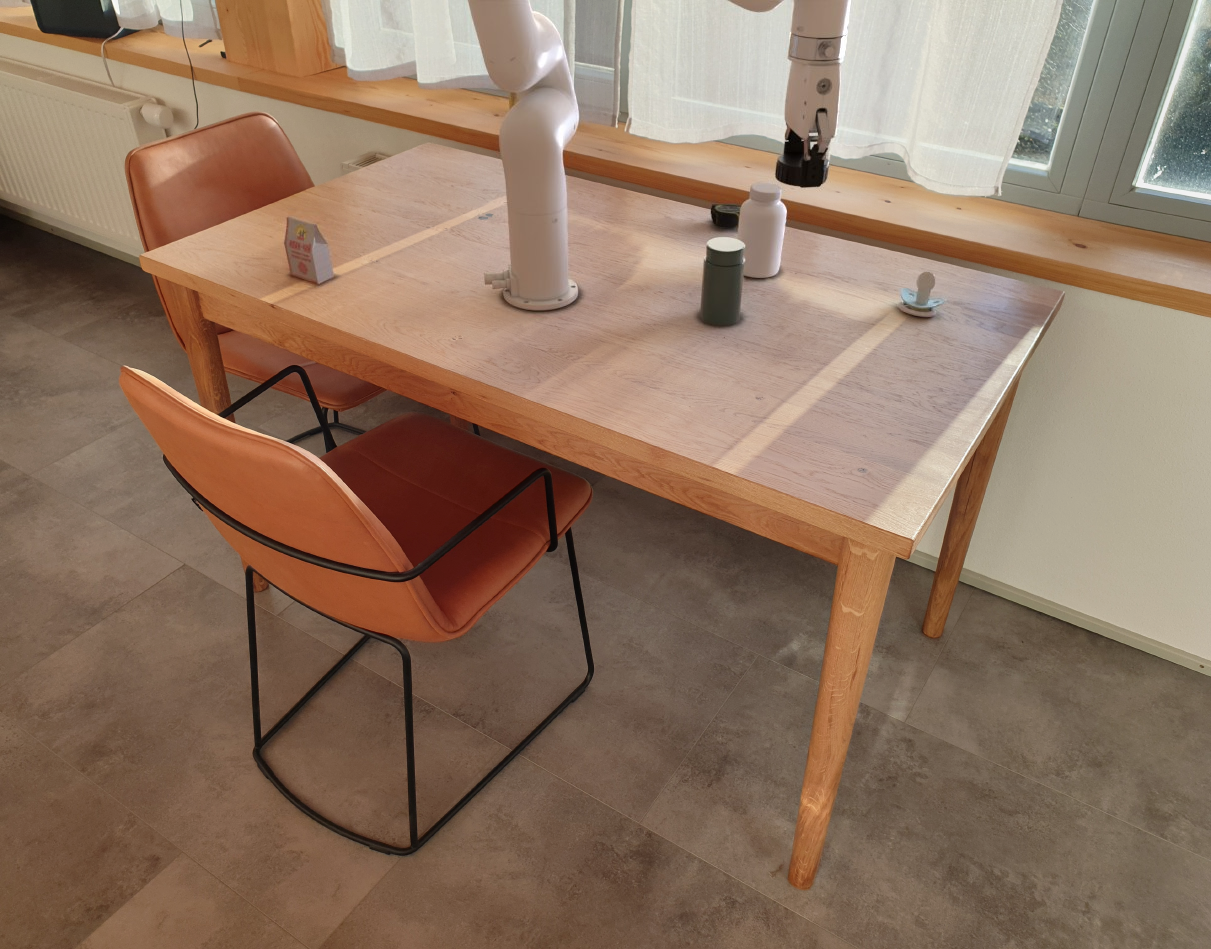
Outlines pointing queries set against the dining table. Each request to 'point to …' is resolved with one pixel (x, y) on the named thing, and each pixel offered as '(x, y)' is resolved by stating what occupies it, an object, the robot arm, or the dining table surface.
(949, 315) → the dining table surface
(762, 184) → the pill bottle
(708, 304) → the jar
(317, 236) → the white snack box
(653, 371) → the dining table surface
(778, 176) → the lid
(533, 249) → the robot arm
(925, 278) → the pacifier
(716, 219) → the tape measure
